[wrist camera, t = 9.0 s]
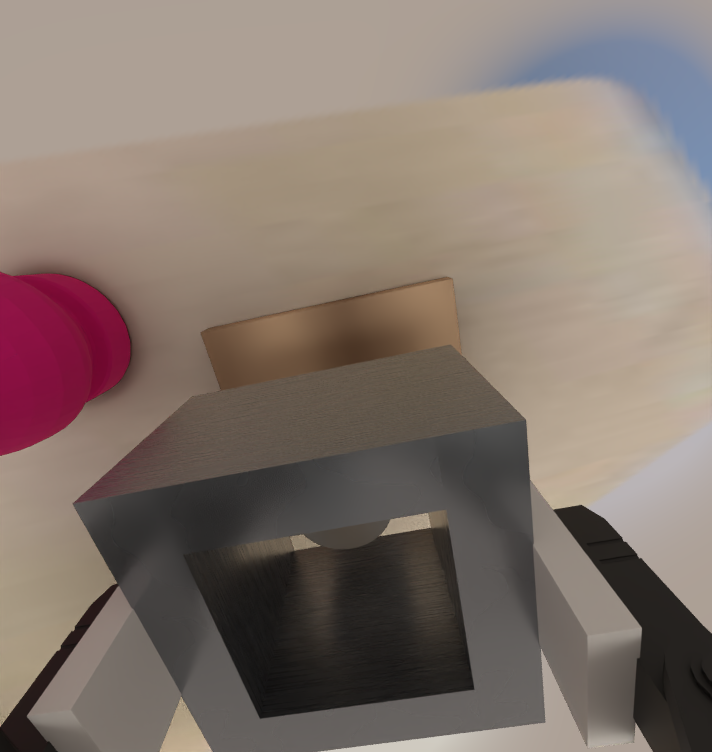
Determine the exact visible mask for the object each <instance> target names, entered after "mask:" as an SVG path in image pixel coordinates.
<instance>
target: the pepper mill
mask: <svg viewBox="0 0 712 752" xmlns="http://www.w3.org/2000/svg"><path fill="white" fill-rule="evenodd" d="M129 361H130V339H129V335H128V332H127V328H126V325H125V323H124V321H123V320H122V318H121V316H120V314H119V313H118V311H117V310H116V309H115V307H114V306H113V305H112V304H111V303H110V302H109V301H108V299H107V298H106V297H105V296H104V295H102V294H101V293H100V292H99V291H97V290H96V289H94V288H93V287H91V286H90V285H88V284H86V283H84V282H82V281H80V280H78V279H75V278H72V277H69V276H65V275H60V274H47V273H46V274H33V275H20V276H10V275H7V274H4V273H1V272H0V456H2V455H5V454H9V453H12V452H16V451H19V450H22V449H24V448H27V447H30V446H32V445H34V444H36V443H38V442H40V441H42V440H44V439H46V438H49V437H51V436H53V435H54V434H56V433H57V432H59V431H61V430H62V429H64V428H65V427H66V426H68V425H69V424H70V423H71V422H72V421H73V420H74V419H75V418H76V417H77V415H78V414H79V413H80V411H81V410H82V408H83V406H84V404H85V403H86V402H88V401H90V400H91V399H93V398H95V397H97V396H99V395H100V394H102V393H104V392H106V391H107V390H109V389H110V388H112V387H113V386H115V385H116V384H117V383H118V382H119V381H120V380H121V378H122V377H123V376H124V374H125V371H126V369H127V367H128V365H129Z"/></svg>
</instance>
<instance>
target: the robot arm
mask: <svg viewBox="0 0 712 752" xmlns="http://www.w3.org/2000/svg"><path fill="white" fill-rule="evenodd" d="M530 490H531V506H532V521H533V537H534V544H533V555H534V570H535V586H536V602H537V618H538V633H539V645H540V647H541V649H542V651H543V653H544V655H545V657H546V660H547V662H548V664H549V666H550V668H551V670H552V673H553V675H554V677H555V679H556V681H557V683H558V685H559V688H560V690H561V692H562V694H563V696H564V698H565V701H566V703H567V705H568V707H569V709H570V711H571V714H572V716H573V718H574V720H575V722H576V724H577V726H578V729H579V731H580V733H581V735H582V737H583V739H584V742H585V744H586V746H587V748H593V747H602V746H610V745H618V744H625V743H634V736H635V722H636V724H637V725H638V727H639V728H640V730H641V732H642V734H643V735H644V737H645V738H646V740H647V742H648V744H649V746H650V747H651V749H652V750H653V752H712V633H710V632H709V631H708V630H707V629H706V628H705V627H704V626H703V625H702V624H701V623H700V622H699V621H698V619H697V618H696V617H695V616H694V615H693V614H692V613H691V612H690V611H689V610H688V609H687V608H686V606H685V605H684V604H683V603H682V602H681V601H680V600H679V599H678V598H677V597H676V596H675V595H674V593H673V592H672V591H671V590H670V589H669V588H668V587H667V586H666V585H665V584H664V583H663V582H662V581H661V579H660V578H659V577H658V576H657V575H656V574H655V573H654V572H653V571H652V570H651V569H650V568H649V566H648V565H647V564H646V563H645V562H644V561H643V560H642V559H641V558H640V559H639V558H638V556H637V554H636V553H635V551H634V550H633V549H632V548H631V547H630V546H629V545H628V544H627V542H624V541H623V539H622V537H621V536H620V535H619V534H618V533H617V532H616V531H615V530H614V528H613V527H612V526H611V525H610V524H609V523H608V522H607V521H606V520H605V519H604V518H602V517H601V516H599V515H597V514H596V513H594V512H592V511H591V510H589V509H587V508H586V507H584V506H582V505H578V506H572V507H566V508H560V509H555V510H553V509H552V508H551V507H550V505H549V504H548V503H547V501H546V500H545V499H544V498H543V496H542V495H541V494H540V492H539V491H538V490H537V488H536V487H535V486H534V484H533V483H532V482H531V480H530ZM181 695H182V694H181V693H180V691H179V689H178V687H177V686H176V684H175V682H174V680H173V678H172V677H171V675H170V673H169V671H168V670H167V668H166V666H165V664H164V662H163V661H162V659H161V657H160V655H159V654H158V652H157V650H156V648H155V646H154V645H153V643H152V641H151V639H150V637H149V636H148V634H147V632H146V630H145V629H144V627H143V625H142V623H141V621H140V620H139V618H138V616H137V614H136V613H135V611H134V609H132V608H131V606H130V604H129V603H128V601H127V599H126V597H125V596H124V594H123V592H122V590H121V589H120V587H119V585H118V584H114V585H112V586H111V587H110V588H109V589H108V590H107V591H105V592H104V593H103V594H102V595H101V596H100V597H99V598H98V599H97V600H96V601H95V602H94V603H93V604H92V605H91V606H90V607H89V608H88V610H87V611H86V613H85V614H84V615H83V617H82V618H81V619H80V621H79V622H78V623H77V625H76V626H75V630H74V631H71V633H70V634H69V635H68V637H67V638H66V639H65V641H64V642H63V643H62V645H61V649H60V650H59V651H57V652H56V653H55V654H54V656H53V657H52V658H51V660H50V661H49V662H48V664H47V665H46V666H45V668H44V669H43V670H42V672H41V673H40V674H39V676H38V677H37V678H36V680H35V681H34V682H33V684H32V685H31V686H30V688H29V689H28V691H27V692H26V693H25V695H24V696H23V697H22V699H21V700H20V701H19V703H18V704H17V705H16V707H15V708H14V709H13V711H12V712H11V713H10V715H9V716H8V717H7V719H6V720H5V721H4V723H3V724H2V725H1V727H0V752H159V751H160V749H161V746H162V743H163V741H164V738H165V736H166V733H167V731H168V728H169V726H170V723H171V720H172V718H173V715H174V713H175V710H176V708H177V705H178V703H179V700H180V697H181Z"/></svg>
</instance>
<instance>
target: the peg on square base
mask: <svg viewBox="0 0 712 752" xmlns="http://www.w3.org/2000/svg"><path fill="white" fill-rule="evenodd" d="M201 336H202V338H203V341H204V344H205V347H206V350H207V352H208V355H209V358H210V361H211V364H212V366H213V369H214V372H215V375H216V378H217V380H218V383H219V386H220V389H221V391H222V390H227V389H232V388H237V387H242V386H247V385H252V384H257V383H262V382H267V381H272V380H277V379H282V378H287V377H291V376H296V375H301V374H306V373H311V372H316V371H321V370H326V369H331V368H336V367H341V366H346V365H351V364H356V363H361V362H366V361H371V360H376V359H381V358H385V357H390V356H395V355H400V354H405V353H410V352H415V351H420V350H425V349H430V348H435V347H440V346H445V345H450V344H451V345H452V346H453V347H454V348H455V349H456V350H457V351H458V352H459V353H460V354H461V345H460V337H459V329H458V320H457V312H456V303H455V295H454V287H453V279H452V278H448V277H445V278H441V279H436V280H431V281H427V282H422V283H417V284H413V285H408V286H403V287H399V288H394V289H390V290H385V291H380V292H376V293H371V294H366V295H362V296H357V297H352V298H348V299H343V300H338V301H334V302H329V303H324V304H320V305H315V306H310V307H306V308H301V309H296V310H292V311H287V312H282V313H278V314H273V315H268V316H264V317H259V318H254V319H250V320H245V321H240V322H236V323H231V324H226V325H222V326H217V327H212V328H208V329H206V330H204V331H203V332H201ZM461 355H462V354H461ZM389 521H390V519H388V520H382V521H377V522H371V523H365V524H359V525H353V526H347V527H341V528H336V529H330V530H324V531H318V532H312V533H306V534H304V535H305V536H306V537H307V538H308V539H310V540H311V541H313V542H315V543H316V544H319V545H321V546H324V547H327V548H332V549H352V548H357V547H360V546H363V545H366V544H368V543H370V542H371V541H373V540H375V539H376V538H377V537H378V536H380V534H381V533H382V532H383V531H384V530H385V528H386V527H387V525H388V523H389Z"/></svg>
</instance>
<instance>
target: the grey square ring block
mask: <svg viewBox="0 0 712 752" xmlns="http://www.w3.org/2000/svg"><path fill="white" fill-rule="evenodd" d="M73 505H74V507H75V509H76V511H77V512H78V514H79V516H80V518H81V520H82V521H83V523H84V525H85V527H86V528H87V530H88V532H89V534H90V535H91V537H92V539H93V541H94V543H95V544H96V546H97V548H98V550H99V551H100V553H101V555H102V557H103V558H104V560H105V562H106V564H107V566H108V567H109V569H110V571H111V573H112V574H113V576H114V578H115V580H116V581H117V583H118V585H119V587H120V589H121V590H122V592H123V594H124V596H125V597H126V599H127V601H128V603H129V604H130V606H131V608H132V609H134V611H135V613H136V614H137V616H138V618H139V620H140V621H141V623H142V625H143V627H144V629H145V630H146V632H147V634H148V636H149V637H150V639H151V641H152V643H153V645H154V646H155V648H156V650H157V652H158V654H159V655H160V657H161V659H162V661H163V662H164V664H165V666H166V668H167V670H168V671H169V673H170V675H171V677H172V678H173V680H174V682H175V684H176V686H177V687H178V689H179V691H180V693H181V694H182V695H181V696H182V698H183V700H184V702H185V704H186V705H187V707H188V709H189V711H190V712H191V714H192V716H193V718H194V719H195V721H196V723H197V725H198V727H199V728H200V730H201V732H202V734H203V735H204V737H205V739H206V741H207V742H208V744H209V746H210V748H211V750H212V751H213V752H318V751H325V750H333V749H341V748H349V747H356V746H364V745H373V744H380V743H388V742H396V741H404V740H410V739H419V738H427V737H435V736H443V735H451V734H458V733H466V732H474V731H482V730H490V729H498V728H506V727H514V726H521V725H529V724H536V723H545V710H544V695H543V680H542V662H541V647H540V645H539V633H538V618H537V602H536V586H535V570H534V555H533V544H534V537H533V521H532V506H531V490H530V474H529V458H528V443H527V427H526V419H525V418H524V417H523V416H522V415H521V414H520V413H519V412H518V411H517V410H516V409H515V408H514V407H513V406H512V405H511V404H510V403H509V402H508V401H507V400H506V399H505V398H504V397H503V396H502V395H501V394H500V393H499V392H498V391H497V390H496V389H495V388H494V387H493V386H492V385H491V384H490V383H489V382H488V381H487V380H486V379H485V378H484V377H483V376H482V375H481V374H480V373H479V372H478V371H477V370H476V369H475V368H474V367H473V366H472V365H471V364H470V363H469V362H468V361H467V360H466V359H465V358H464V357H463V356H462V355H461V354H460V353H459V352H458V351H457V350H456V349H455V348H454V347H453V346H452V345H451V344H450V345H445V346H440V347H435V348H430V349H425V350H420V351H415V352H410V353H405V354H400V355H395V356H390V357H385V358H381V359H376V360H371V361H366V362H361V363H356V364H351V365H346V366H341V367H336V368H331V369H326V370H321V371H316V372H311V373H306V374H301V375H296V376H291V377H287V378H282V379H277V380H272V381H267V382H262V383H257V384H252V385H247V386H242V387H237V388H232V389H227V390H222V391H217V392H212V393H207V394H202V395H197V396H192V397H191V398H190V399H189V400H188V401H187V402H186V403H184V404H183V405H182V406H181V407H180V408H179V409H178V410H177V411H176V412H174V413H173V414H172V415H171V416H170V417H169V418H168V419H167V420H166V421H164V422H163V423H162V424H161V425H160V426H159V427H158V428H157V429H155V430H154V431H153V432H152V433H151V434H150V435H149V436H148V437H147V438H145V439H144V440H143V441H142V442H141V443H140V444H139V445H138V446H137V447H135V448H134V449H133V450H132V451H131V452H130V453H129V454H128V455H126V456H125V457H124V458H123V459H122V460H121V461H120V462H119V463H118V464H116V465H115V466H114V467H113V468H112V469H111V470H110V471H109V472H108V473H106V474H105V475H104V476H103V477H102V478H101V479H100V480H99V481H97V482H96V483H95V484H94V485H93V486H92V487H91V488H90V489H89V490H87V491H86V492H85V493H84V494H83V495H82V496H81V497H80V498H79V499H77V500H76V501H75V502H74V503H73ZM423 513H429V519H430V524H431V528H427V529H421V530H415V531H409V532H403V533H397V534H391V535H385V536H380V537H377V538H376V539H375V540H373V541H371V542H370V543H368V544H366V545H363V546H360V547H357V548H352V549H332V548H327V547H324V546H320V547H314V548H308V549H302V550H296V551H294V548H293V545H292V542H291V539H290V536H295V535H300V534H306V533H312V532H318V531H324V530H330V529H336V528H341V527H347V526H353V525H359V524H365V523H371V522H377V521H382V520H388V519H394V518H400V517H406V516H412V515H418V514H423Z"/></svg>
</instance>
